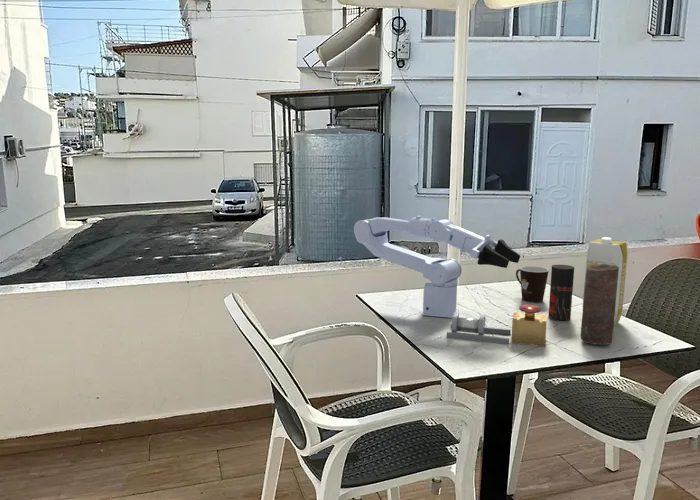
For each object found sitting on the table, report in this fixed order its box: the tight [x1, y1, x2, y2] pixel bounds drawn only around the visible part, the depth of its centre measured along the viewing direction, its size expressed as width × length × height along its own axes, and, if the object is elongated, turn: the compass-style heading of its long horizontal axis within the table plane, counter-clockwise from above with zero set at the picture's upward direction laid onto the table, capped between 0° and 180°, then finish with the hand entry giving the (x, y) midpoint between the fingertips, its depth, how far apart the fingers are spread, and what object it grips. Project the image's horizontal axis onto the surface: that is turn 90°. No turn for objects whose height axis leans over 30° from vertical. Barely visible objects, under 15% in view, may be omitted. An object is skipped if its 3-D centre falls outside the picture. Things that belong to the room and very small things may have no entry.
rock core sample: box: [580, 264, 619, 346], centre depth 139 cm, size 8×7×20 cm
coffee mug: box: [515, 265, 550, 304], centre depth 180 cm, size 12×9×10 cm
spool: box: [450, 312, 486, 335], centre depth 147 cm, size 8×5×5 cm, turn 72°
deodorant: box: [547, 264, 575, 322], centre depth 160 cm, size 6×6×15 cm
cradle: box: [446, 322, 512, 345], centre depth 147 cm, size 16×8×1 cm, turn 72°
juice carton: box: [582, 236, 628, 326], centre depth 155 cm, size 9×8×24 cm
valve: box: [510, 304, 548, 347], centre depth 142 cm, size 8×6×9 cm
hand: (513, 261), depth 150 cm, fingers open, 7 cm apart
